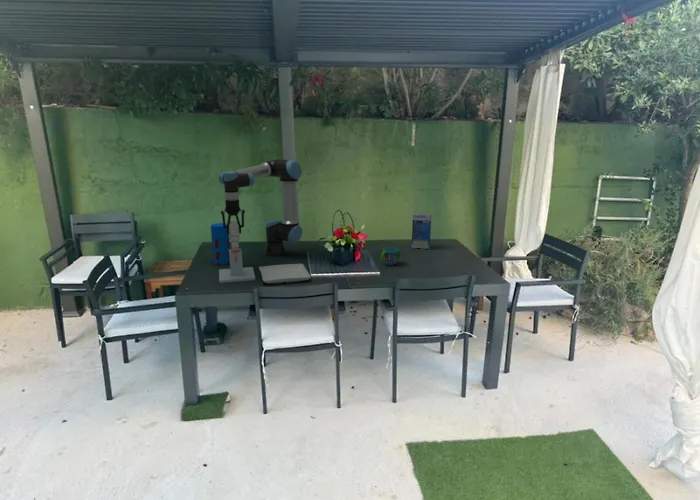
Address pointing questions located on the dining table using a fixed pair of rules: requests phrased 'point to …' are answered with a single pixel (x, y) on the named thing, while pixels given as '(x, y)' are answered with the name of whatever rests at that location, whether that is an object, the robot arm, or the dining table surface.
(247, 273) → the stand
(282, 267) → the square plate
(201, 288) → the dining table surface
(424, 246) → the string lights box
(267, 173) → the robot arm
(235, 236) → the column
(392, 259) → the snack cup
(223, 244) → the thermos
